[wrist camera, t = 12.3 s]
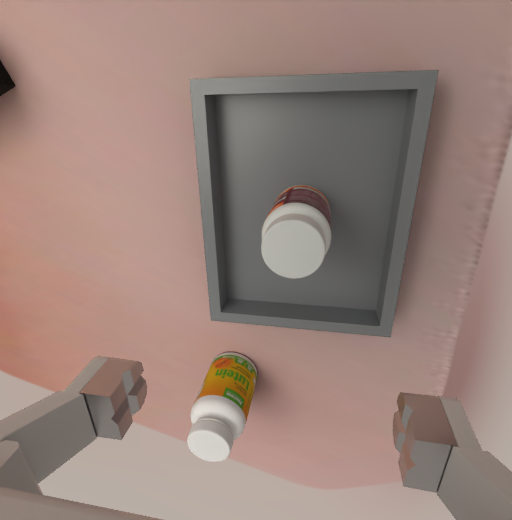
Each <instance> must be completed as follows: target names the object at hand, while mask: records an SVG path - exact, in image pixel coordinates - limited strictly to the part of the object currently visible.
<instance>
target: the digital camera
mask: <svg viewBox="0 0 512 520" xmlns="http://www.w3.org/2000/svg"><path fill="white" fill-rule="evenodd" d="M2 81H3V82H2ZM13 87H15V84H14V82H13V81H12V79H11V77H10V76H9V74H8V72H7V71H6V69H5V67H4V66H3V64H2V62H1V61H0V96H1V95H3V94H4V93H6V92H7V91H9V90H10V89H12V88H13Z"/></svg>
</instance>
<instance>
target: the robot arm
mask: <svg viewBox="0 0 512 520" xmlns="http://www.w3.org/2000/svg"><path fill="white" fill-rule="evenodd" d="M143 371H144V370H143V366H142V363H141V362H139V361H133V360H126V359H119V358H110V357H103V356H97V357H95V358H94V359H93V360H92V361H91V362H90V363H89V364H88V365H87V366H86V367H85V368H84V369H83V371H82V372H81V373H80V374H79V375H78V376H77V377H76V378H75V379H74V380H73V382H72V383H71V384H70V385H69V386H68V387H67V388H66V389H65V390H64V391H58V392H56V393H54V394H52V395H50V396H48V397H46V398H44V399H42V400H40V401H38V402H36V403H34V404H32V405H30V406H28V407H26V408H24V409H22V410H20V411H18V412H16V413H14V414H12V415H11V416H8V417H6V418H4V419H2V420H0V520H162V519H157V518H152V517H147V516H143V515H137V514H133V513H128V512H123V511H118V510H113V509H108V508H103V507H98V506H94V505H89V504H84V503H79V502H74V501H69V500H64V499H60V498H55V497H50V496H44V495H43V494H42V492H41V490H40V487H39V485H38V483H39V482H41V481H42V480H43V479H45V478H46V477H47V476H48V475H50V474H51V473H52V472H54V471H55V470H56V469H57V468H59V467H60V466H61V465H63V464H64V463H65V462H67V461H68V460H69V459H70V458H72V457H73V456H74V455H76V454H77V453H78V452H79V451H81V450H82V449H83V448H85V447H86V446H87V445H89V444H90V443H91V442H92V441H94V440H95V439H96V438H97V437H104V438H111V439H118V440H122V439H123V437H124V435H125V433H126V432H127V430H128V429H129V427H130V425H131V424H132V422H133V421H132V415H133V414H135V413H136V412H138V411H139V410H140V409H141V407H142V405H143V404H144V401H145V398H146V394H147V384H146V381H145V379H144V378H143V377H142V376H141V374H142V372H143ZM397 404H398V409H399V410H398V411H397V412H395V414H394V420H393V436H394V443H395V448H396V449H397V450H398V451H399V452H400V458H399V462H398V463H399V468H400V472H401V477H402V482H403V486H405V487H410V488H415V489H420V490H425V491H431V492H436V493H437V495H438V496H439V498H440V499H441V500H442V502H443V503H444V504H445V506H446V507H447V508H448V510H449V511H450V512H451V514H452V515H453V516H454V518H455V519H456V520H512V472H511V471H510V470H509V469H508V468H507V467H506V466H504V465H503V464H502V463H501V462H500V461H499V460H498V459H496V458H495V457H494V456H493V455H492V454H491V453H490V452H488V451H482V449H481V447H480V444H479V442H478V440H477V438H476V436H475V434H474V431H473V429H472V427H471V425H470V423H469V421H468V418H467V416H466V414H465V412H464V410H463V407H462V405H461V403H460V401H459V400H458V399H457V398H449V397H439V396H437V397H436V396H430V395H420V394H411V393H402V392H400V394H399V395H398V400H397Z"/></svg>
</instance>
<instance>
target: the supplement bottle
mask: <svg viewBox="0 0 512 520" xmlns="http://www.w3.org/2000/svg"><path fill="white" fill-rule="evenodd" d="M256 380H257V370H256V367H255V365H254V364H253V362H252V361H251V360H250V359H248V358H247V357H246V356H244V355H241V354H239V353H234V352H227V353H223V354H220V355H218V356H217V357H216V358H215V359H214V361H213V362H212V364H211V366H210V369H209V371H208V373H207V376H206V378H205V380H204V382H203V385H202V387H201V389H200V391H199V394H198V396H197V398H196V400H195V402H194V405H193V407H192V410H191V421H192V424H193V426H192V427H191V430H190V433H189V436H188V439H187V444H188V447H189V449H190V450H191V451H192V452H193V453H194V454H195V455H196V456H197V457H199V458H201V459H203V460H206V461H210V462H219V461H223V460H225V459H226V458H227V457H228V456H229V454H230V451H231V448H232V445H233V440H235V439H236V438H238V437H239V436H240V435H241V434H242V432H243V430H244V427H245V424H246V420H247V416H248V412H249V409H250V404H251V400H252V396H253V392H254V388H255V385H256Z"/></svg>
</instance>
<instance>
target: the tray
mask: <svg viewBox="0 0 512 520" xmlns="http://www.w3.org/2000/svg"><path fill="white" fill-rule="evenodd" d="M437 75H438V70H424V71H396V72H369V73H342V74H314V75H287V76H259V77H232V78H205V79H189V81H190V92H191V103H192V114H193V125H194V136H195V148H196V159H197V170H198V181H199V192H200V203H201V215H202V226H203V237H204V248H205V259H206V270H207V282H208V293H209V304H210V315H211V320H212V321H222V322H233V323H244V324H254V325H265V326H275V327H286V328H297V329H307V330H318V331H329V332H339V333H350V334H361V335H371V336H382V337H391V332H392V327H393V321H394V315H395V310H396V304H397V299H398V293H399V287H400V282H401V276H402V271H403V265H404V260H405V254H406V248H407V243H408V237H409V232H410V226H411V220H412V215H413V209H414V204H415V198H416V193H417V187H418V181H419V176H420V170H421V165H422V159H423V153H424V148H425V142H426V137H427V131H428V126H429V120H430V114H431V109H432V103H433V98H434V92H435V86H436V81H437ZM295 185H308V186H311V187H314V188H316V189H317V190H319V191H320V192H321V193H322V194H323V195H324V196H325V197H326V199H327V201H328V203H329V206H330V212H331V234H332V236H331V243H330V247H329V249H328V251H327V253H326V255H325V257H324V260H323V262H322V264H321V265H320V267H319V268H318V269H317V270H316V271H315V272H314V273H312V274H310V275H308V276H306V277H303V278H295V279H293V278H286V277H283V276H280V275H278V274H276V273H275V272H273V271H272V270H271V269H270V268H269V267H268V266H267V264H266V263H265V261H264V259H263V256H262V252H261V243H262V227H263V225H264V222H265V220H266V218H267V216H268V214H269V212H270V210H271V208H272V206H273V204H274V203H275V201H276V199H277V198H278V196H279V195H280V194H281V193H282V192H283V191H284V190H286V189H287V188H289V187H292V186H295Z"/></svg>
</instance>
